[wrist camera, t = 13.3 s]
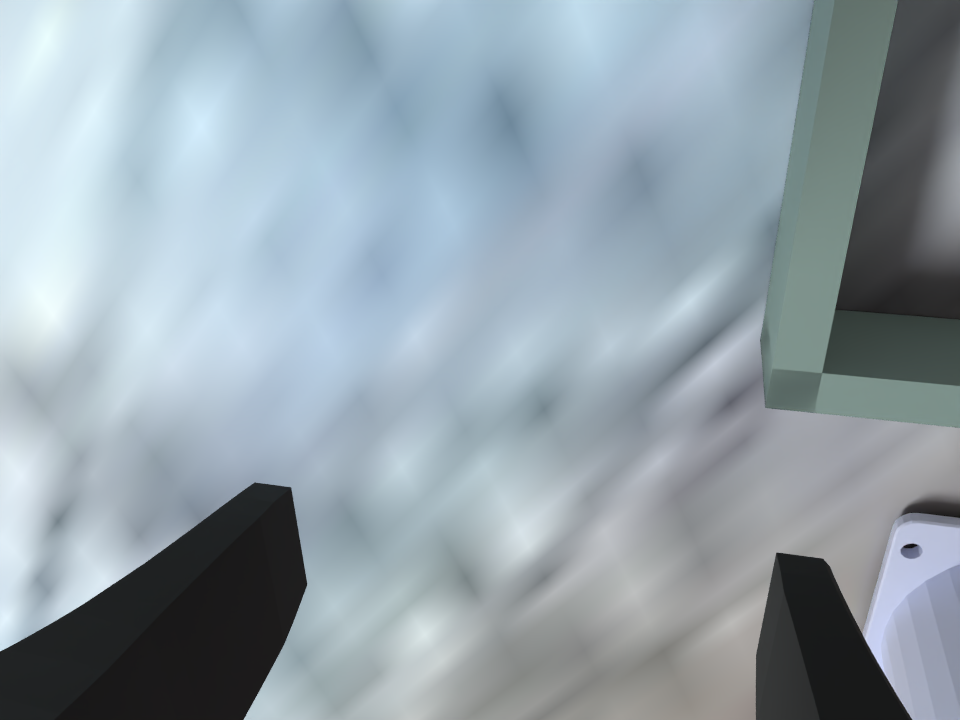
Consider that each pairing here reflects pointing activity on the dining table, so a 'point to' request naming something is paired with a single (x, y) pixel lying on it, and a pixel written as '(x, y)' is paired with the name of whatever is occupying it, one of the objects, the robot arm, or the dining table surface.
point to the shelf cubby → (844, 250)
